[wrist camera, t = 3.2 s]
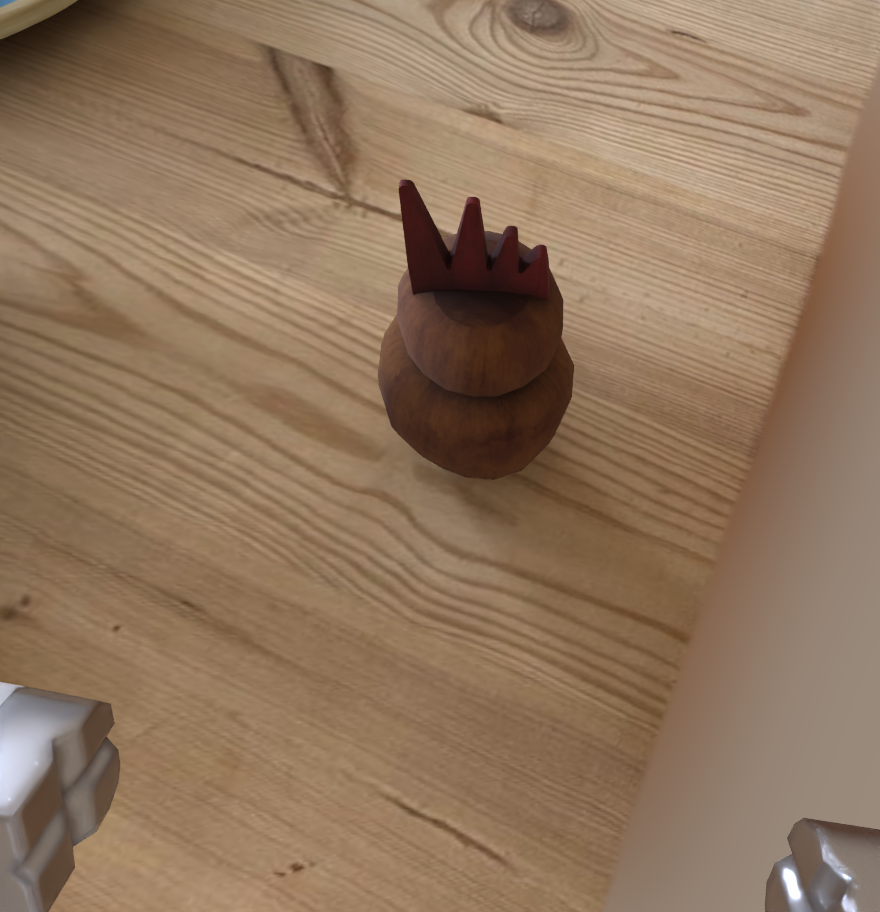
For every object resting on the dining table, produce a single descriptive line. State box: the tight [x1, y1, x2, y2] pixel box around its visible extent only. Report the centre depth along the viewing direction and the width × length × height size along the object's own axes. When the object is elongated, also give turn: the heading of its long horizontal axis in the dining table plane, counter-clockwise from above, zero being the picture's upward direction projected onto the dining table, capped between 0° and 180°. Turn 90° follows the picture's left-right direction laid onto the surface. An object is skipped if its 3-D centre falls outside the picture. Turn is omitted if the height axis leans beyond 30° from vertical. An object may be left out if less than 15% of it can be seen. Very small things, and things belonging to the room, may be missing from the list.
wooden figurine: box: [378, 180, 574, 480], centre depth 23 cm, size 7×6×15 cm
